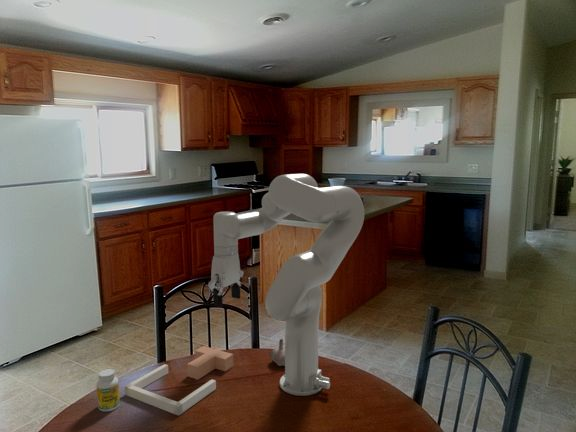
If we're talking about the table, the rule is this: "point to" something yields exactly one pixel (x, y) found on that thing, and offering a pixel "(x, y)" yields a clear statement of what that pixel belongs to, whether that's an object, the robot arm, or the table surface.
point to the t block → (209, 362)
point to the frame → (161, 402)
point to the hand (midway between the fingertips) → (227, 301)
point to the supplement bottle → (108, 391)
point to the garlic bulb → (278, 354)
